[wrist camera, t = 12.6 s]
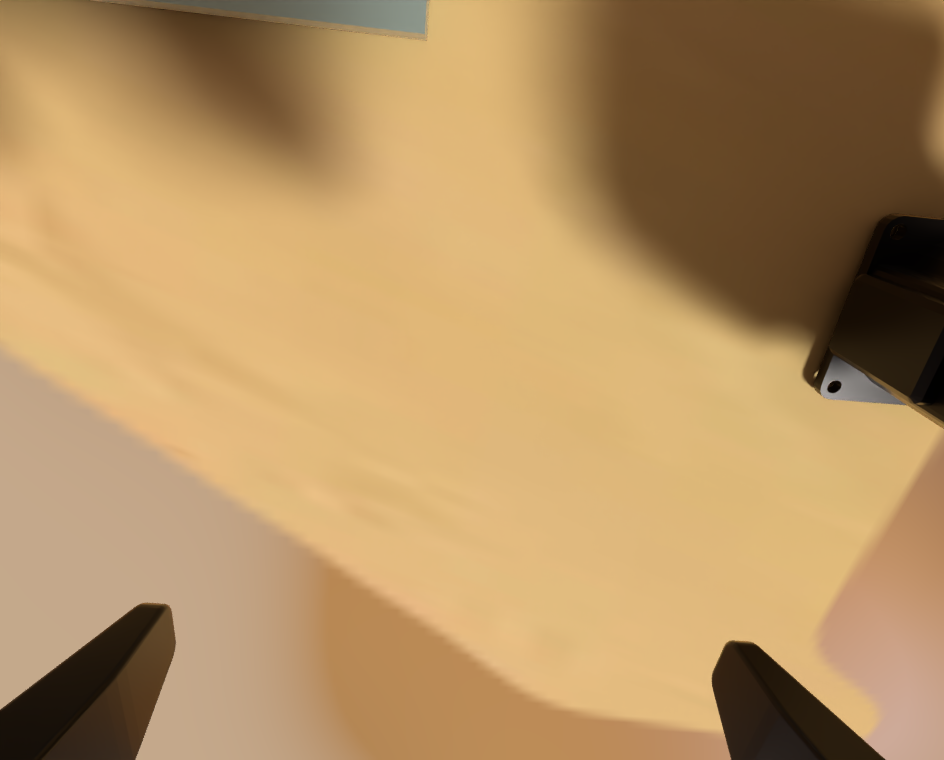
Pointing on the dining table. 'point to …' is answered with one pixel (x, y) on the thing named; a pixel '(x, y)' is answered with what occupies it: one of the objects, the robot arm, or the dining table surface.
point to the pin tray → (314, 13)
